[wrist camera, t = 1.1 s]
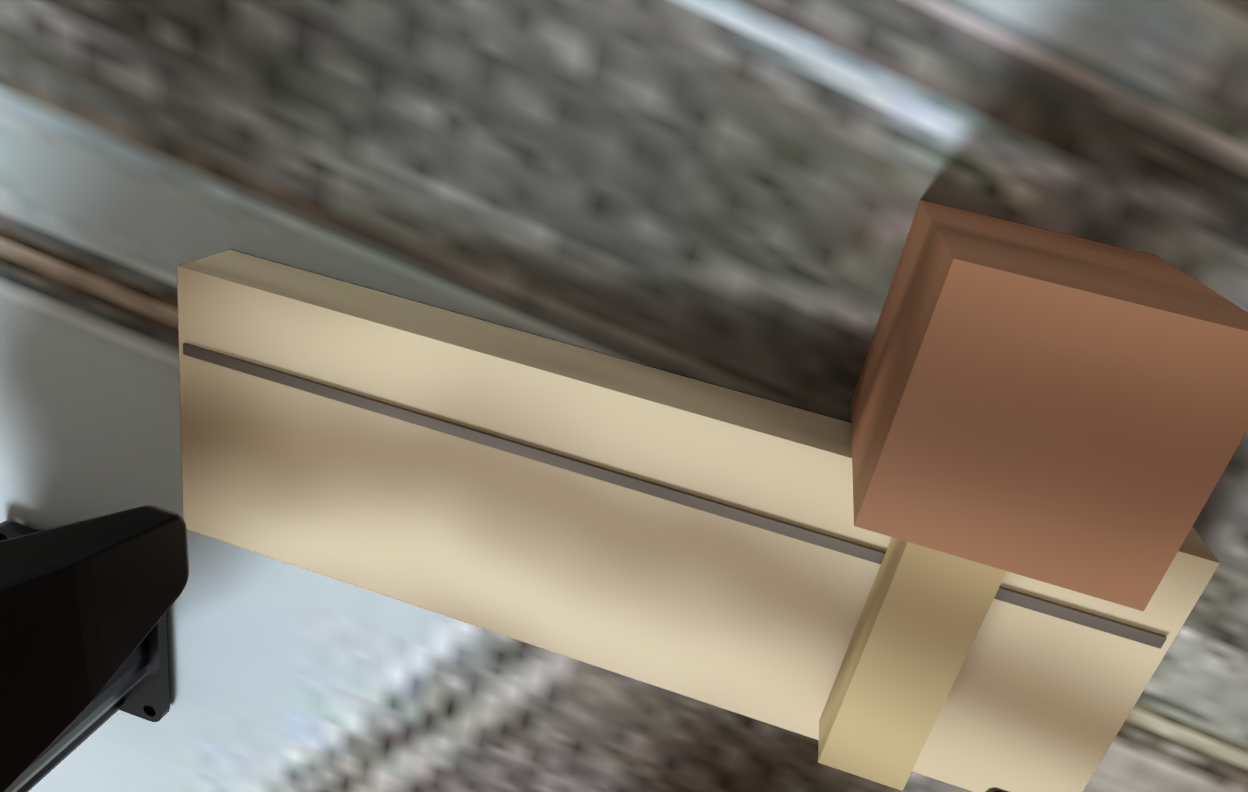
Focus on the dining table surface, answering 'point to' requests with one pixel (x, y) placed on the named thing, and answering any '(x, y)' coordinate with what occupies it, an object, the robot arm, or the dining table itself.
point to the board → (610, 517)
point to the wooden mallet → (1020, 450)
